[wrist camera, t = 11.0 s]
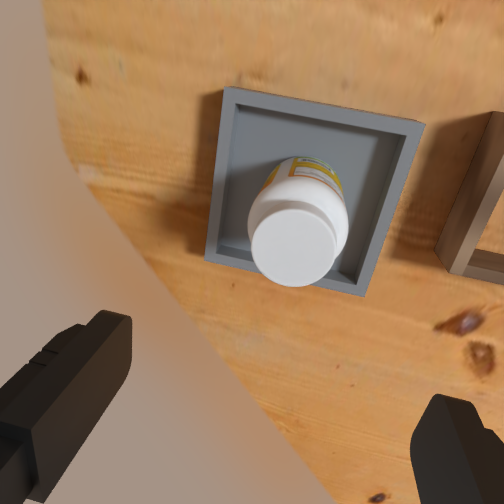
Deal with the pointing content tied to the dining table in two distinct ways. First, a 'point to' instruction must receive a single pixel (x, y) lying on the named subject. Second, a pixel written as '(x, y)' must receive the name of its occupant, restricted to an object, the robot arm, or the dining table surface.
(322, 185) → the supplement bottle
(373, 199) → the tray
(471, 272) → the holder
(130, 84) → the dining table surface
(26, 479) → the robot arm
